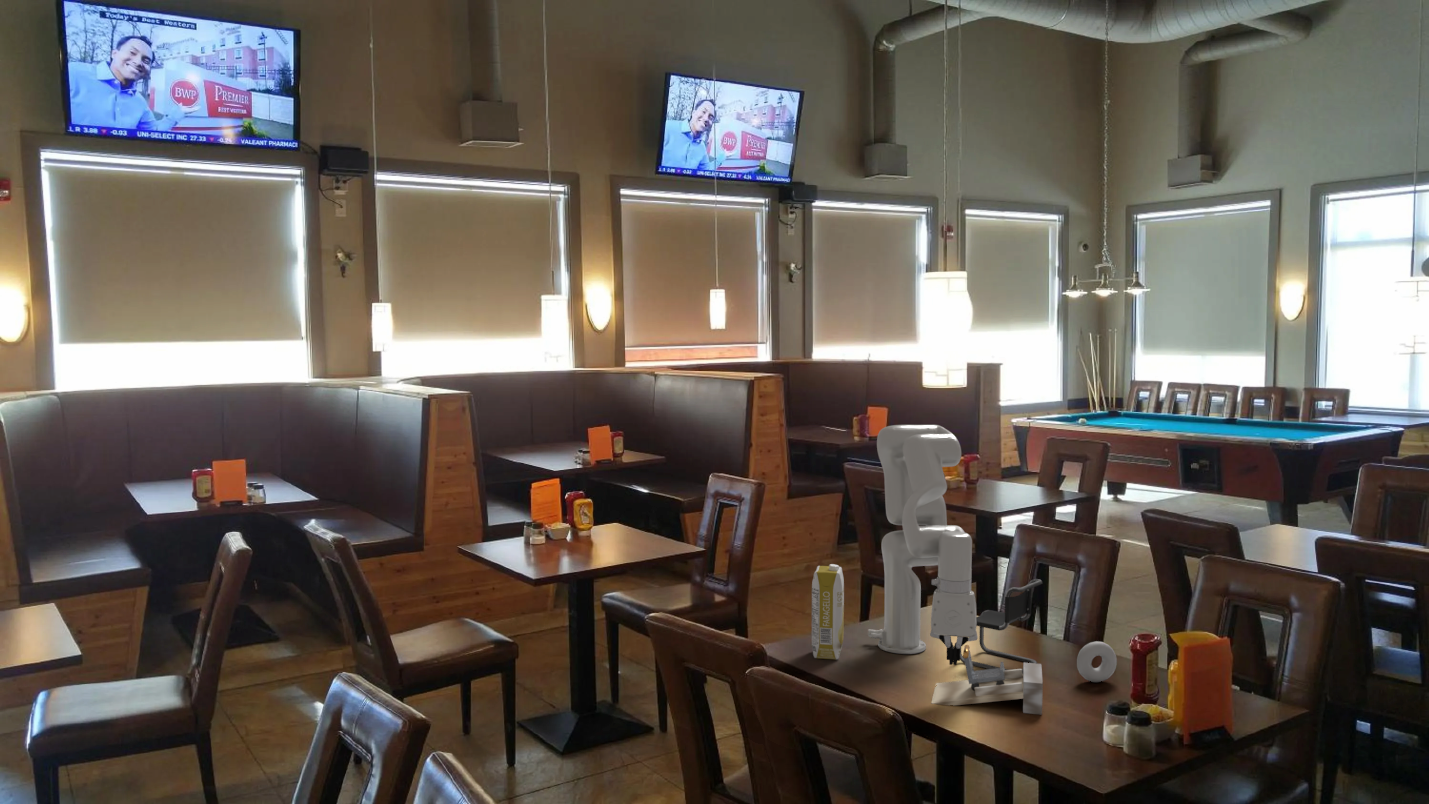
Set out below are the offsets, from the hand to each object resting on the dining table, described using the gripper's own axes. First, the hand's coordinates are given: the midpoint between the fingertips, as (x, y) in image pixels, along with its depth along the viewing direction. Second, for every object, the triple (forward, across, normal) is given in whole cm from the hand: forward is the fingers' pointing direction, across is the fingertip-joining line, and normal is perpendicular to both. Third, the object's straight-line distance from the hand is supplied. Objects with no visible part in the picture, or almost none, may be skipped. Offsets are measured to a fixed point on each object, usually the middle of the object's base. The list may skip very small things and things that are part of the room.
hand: (953, 663), depth 234 cm
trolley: (+5, +7, 0) cm, 9 cm away
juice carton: (+8, -34, +21) cm, 40 cm away
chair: (+8, +9, +27) cm, 30 cm away
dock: (+8, +8, 0) cm, 11 cm away
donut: (+8, +32, +19) cm, 39 cm away
